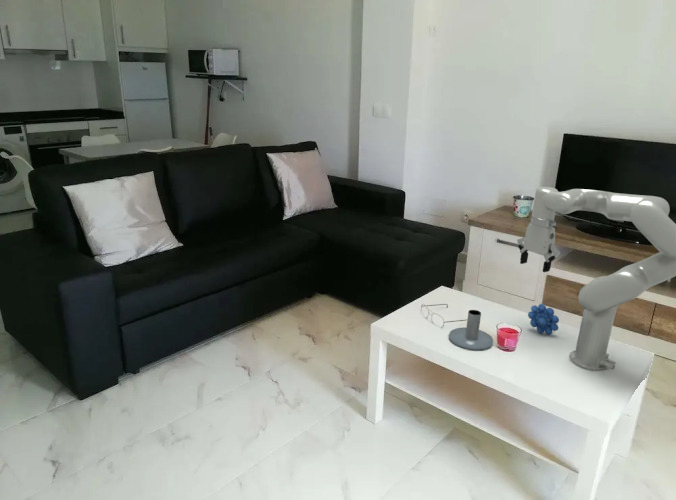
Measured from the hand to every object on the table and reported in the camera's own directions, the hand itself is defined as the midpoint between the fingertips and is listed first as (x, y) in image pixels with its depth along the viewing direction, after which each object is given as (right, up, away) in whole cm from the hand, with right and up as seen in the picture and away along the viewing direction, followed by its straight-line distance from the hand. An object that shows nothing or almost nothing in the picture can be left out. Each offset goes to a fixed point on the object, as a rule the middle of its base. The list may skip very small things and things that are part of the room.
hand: (534, 267), depth 191 cm
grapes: (+7, -26, +12) cm, 30 cm away
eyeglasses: (-29, -22, +22) cm, 42 cm away
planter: (-22, -26, +4) cm, 35 cm away
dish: (-22, -27, +5) cm, 36 cm away
